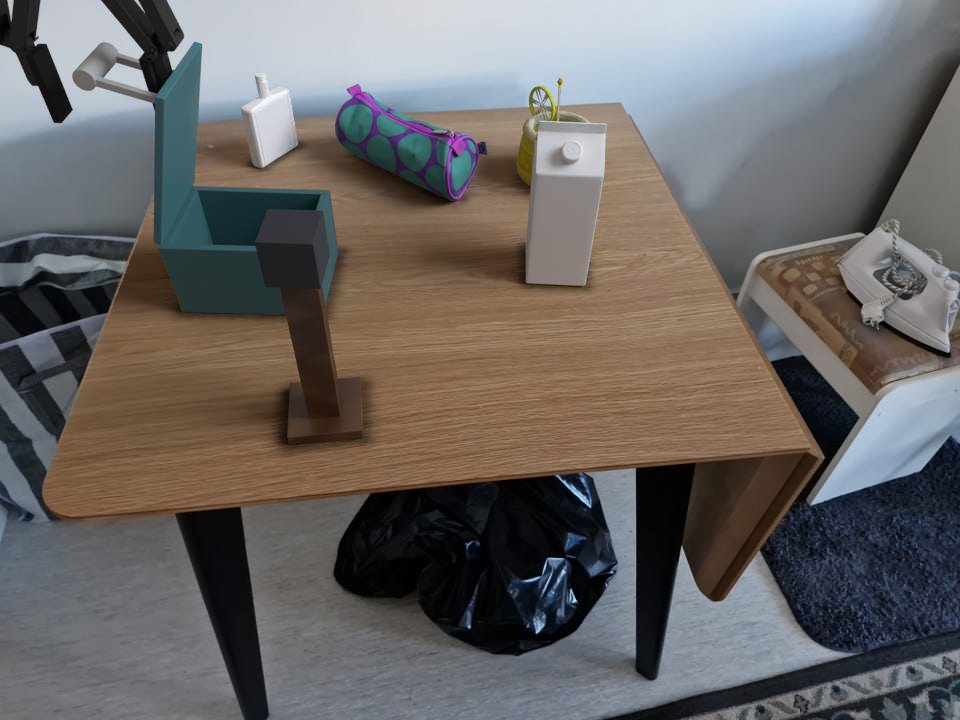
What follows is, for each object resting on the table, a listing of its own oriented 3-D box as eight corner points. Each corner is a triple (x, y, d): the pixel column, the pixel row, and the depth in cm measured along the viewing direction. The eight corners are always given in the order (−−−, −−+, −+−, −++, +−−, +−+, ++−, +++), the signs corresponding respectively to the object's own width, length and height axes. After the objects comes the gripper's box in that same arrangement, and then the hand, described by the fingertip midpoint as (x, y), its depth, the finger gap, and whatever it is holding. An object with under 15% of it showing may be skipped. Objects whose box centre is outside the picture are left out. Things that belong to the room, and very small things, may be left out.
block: (321, 289, 57) (313, 244, 54) (265, 287, 57) (254, 242, 54) (330, 254, 60) (323, 210, 57) (277, 253, 60) (267, 208, 57)
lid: (202, 43, 71) (108, 13, 69) (164, 99, 63) (55, 67, 61) (194, 183, 83) (113, 160, 81) (161, 245, 74) (69, 222, 73)
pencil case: (486, 185, 101) (489, 121, 94) (447, 214, 96) (447, 148, 89) (375, 138, 109) (370, 75, 102) (333, 162, 104) (325, 98, 97)
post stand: (288, 445, 69) (250, 302, 56) (291, 390, 73) (257, 247, 60) (363, 438, 69) (342, 295, 56) (361, 384, 74) (341, 242, 61)
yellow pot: (596, 200, 99) (609, 118, 90) (516, 198, 99) (522, 115, 90) (588, 152, 108) (600, 73, 99) (515, 149, 108) (520, 70, 99)
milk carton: (525, 248, 91) (538, 104, 77) (581, 250, 91) (604, 107, 77) (525, 284, 86) (539, 138, 72) (585, 287, 86) (610, 141, 72)
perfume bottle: (262, 169, 102) (244, 87, 93) (251, 165, 103) (233, 83, 94) (299, 145, 107) (286, 65, 98) (289, 141, 108) (275, 61, 99)
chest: (338, 252, 89) (329, 189, 83) (322, 316, 81) (311, 252, 75) (210, 248, 89) (192, 185, 83) (181, 312, 81) (158, 248, 75)
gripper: (178, -165, 57) (238, 103, 73) (-103, -175, 57) (19, 96, 73) (146, -143, 52) (218, 141, 68) (-163, -153, 52) (-17, 133, 68)
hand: (115, 118), depth 71 cm, fingers open, 9 cm apart
